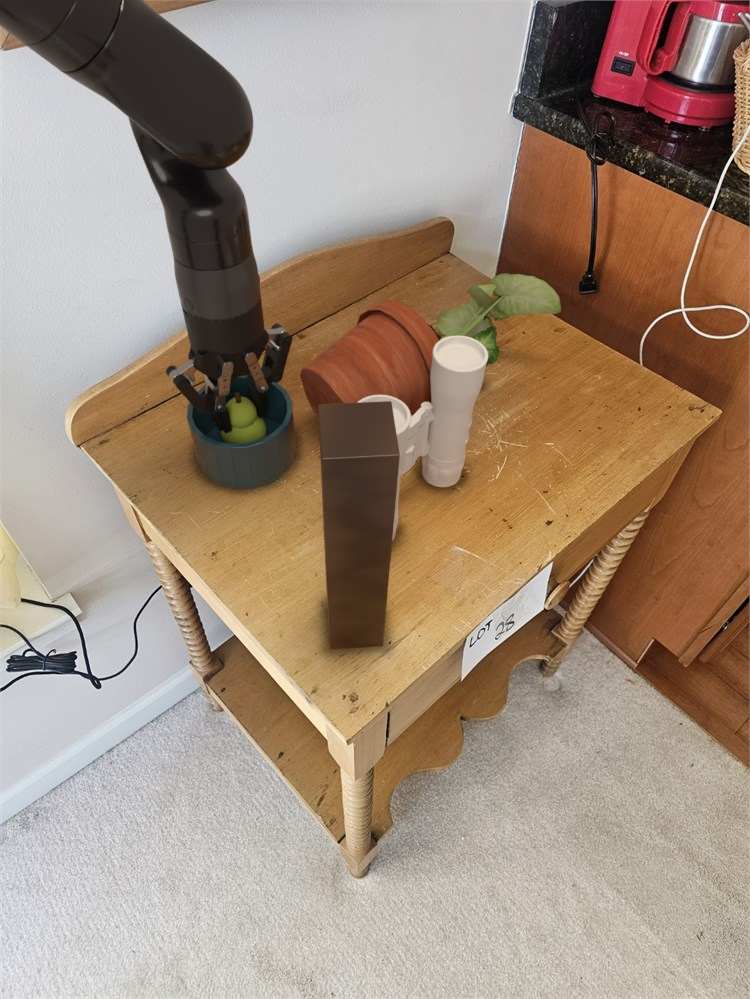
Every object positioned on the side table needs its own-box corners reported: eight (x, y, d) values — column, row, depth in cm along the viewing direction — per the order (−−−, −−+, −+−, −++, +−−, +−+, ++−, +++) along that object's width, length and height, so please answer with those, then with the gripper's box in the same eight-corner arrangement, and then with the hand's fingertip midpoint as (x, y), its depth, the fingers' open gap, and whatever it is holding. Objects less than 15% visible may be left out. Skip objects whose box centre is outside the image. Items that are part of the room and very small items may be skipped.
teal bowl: (194, 491, 80) (183, 450, 74) (200, 418, 87) (190, 375, 81) (297, 486, 80) (293, 444, 75) (294, 414, 88) (291, 371, 82)
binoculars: (437, 448, 85) (455, 327, 71) (473, 471, 83) (499, 352, 69) (339, 532, 77) (338, 415, 62) (376, 561, 74) (383, 446, 60)
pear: (223, 464, 81) (211, 410, 74) (224, 431, 84) (214, 377, 77) (268, 461, 82) (261, 408, 75) (268, 429, 85) (261, 375, 78)
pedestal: (329, 650, 68) (321, 459, 46) (326, 603, 71) (318, 403, 49) (382, 646, 68) (400, 455, 46) (377, 599, 72) (391, 400, 50)
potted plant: (372, 490, 83) (568, 350, 95) (360, 396, 71) (587, 250, 83) (294, 421, 90) (485, 300, 103) (272, 326, 78) (491, 202, 91)
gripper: (265, 249, 70) (279, 378, 84) (132, 296, 65) (169, 425, 79) (305, 287, 67) (312, 415, 80) (167, 339, 61) (200, 467, 75)
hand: (241, 419), depth 79 cm, fingers closed on pear, 3 cm apart
